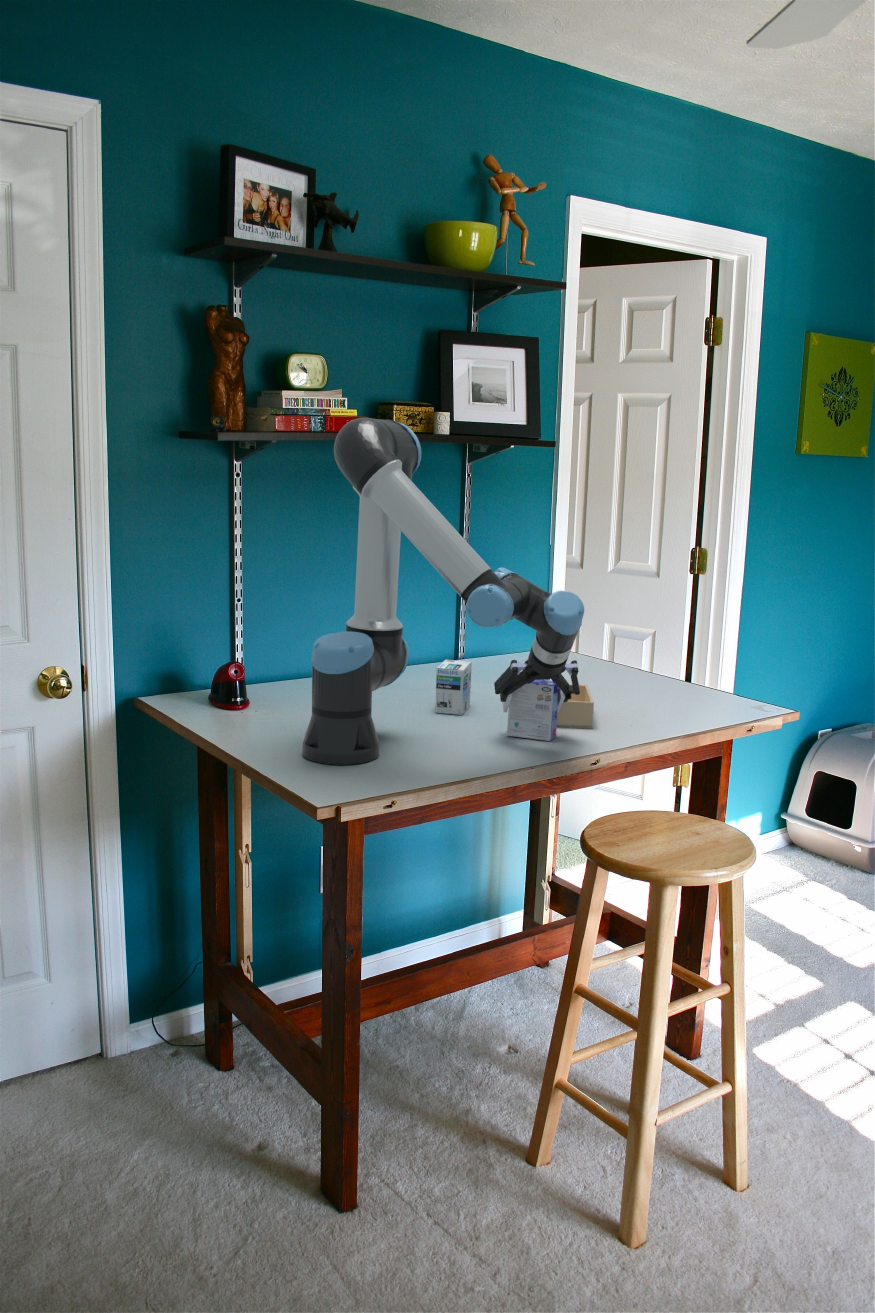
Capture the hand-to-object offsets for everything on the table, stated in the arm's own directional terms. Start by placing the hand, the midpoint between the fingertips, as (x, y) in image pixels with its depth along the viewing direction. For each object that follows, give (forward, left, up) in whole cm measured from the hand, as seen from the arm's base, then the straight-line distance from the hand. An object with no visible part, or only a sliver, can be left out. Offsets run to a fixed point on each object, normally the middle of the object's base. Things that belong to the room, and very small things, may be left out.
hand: (530, 707), depth 214 cm
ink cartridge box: (0, -3, -6) cm, 7 cm away
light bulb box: (-18, +17, -6) cm, 25 cm away
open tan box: (+6, +25, -6) cm, 27 cm away
